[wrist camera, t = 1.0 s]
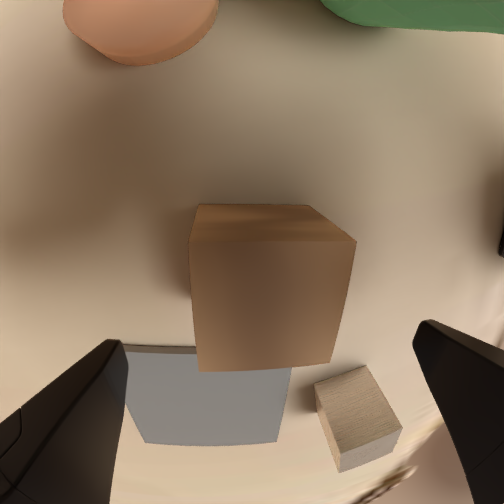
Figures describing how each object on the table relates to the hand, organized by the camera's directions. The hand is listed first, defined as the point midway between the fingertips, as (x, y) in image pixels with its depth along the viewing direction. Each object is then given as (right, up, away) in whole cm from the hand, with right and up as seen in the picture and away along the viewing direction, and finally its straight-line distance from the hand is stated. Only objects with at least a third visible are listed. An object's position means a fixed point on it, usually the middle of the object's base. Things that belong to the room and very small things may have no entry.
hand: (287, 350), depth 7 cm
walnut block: (-1, +2, +6) cm, 7 cm away
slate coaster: (-4, -8, +10) cm, 13 cm away
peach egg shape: (-5, +14, +1) cm, 15 cm away
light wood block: (+6, -8, +11) cm, 15 cm away
